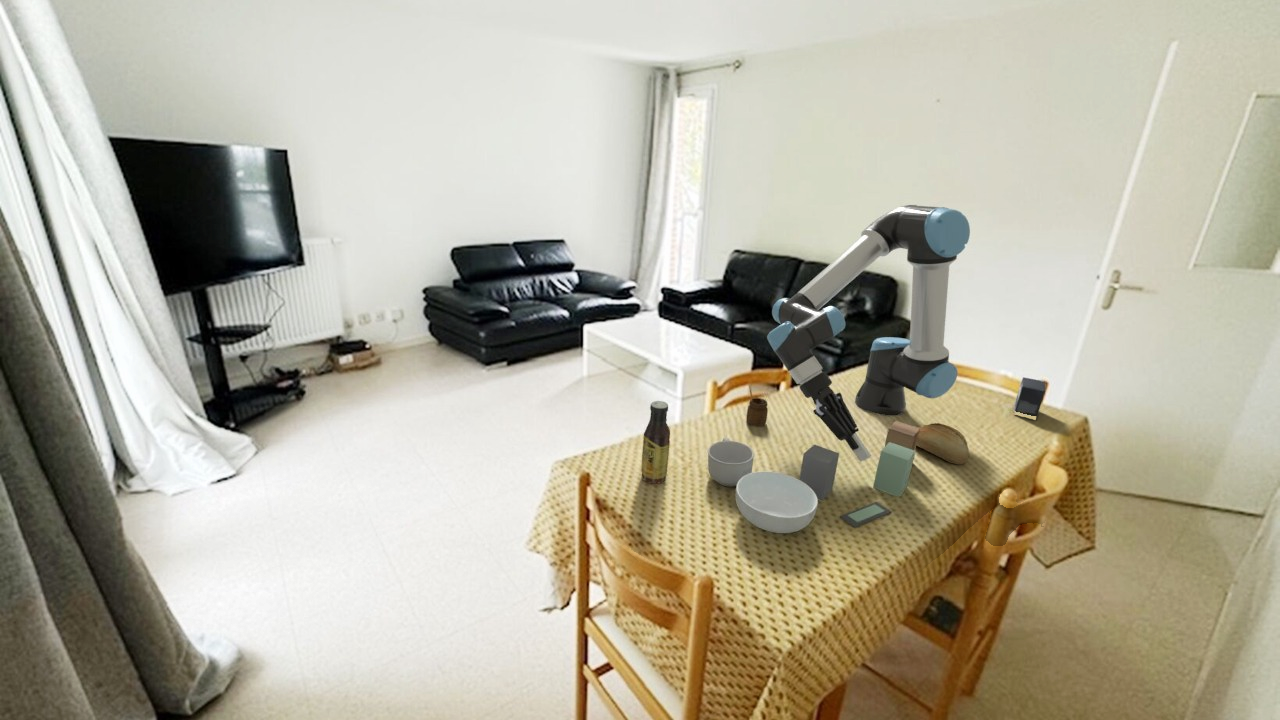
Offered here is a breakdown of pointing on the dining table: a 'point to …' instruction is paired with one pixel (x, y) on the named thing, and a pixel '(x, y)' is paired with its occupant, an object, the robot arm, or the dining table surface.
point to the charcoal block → (819, 470)
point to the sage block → (894, 469)
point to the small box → (1030, 396)
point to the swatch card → (865, 514)
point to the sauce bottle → (656, 444)
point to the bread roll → (944, 442)
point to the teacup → (729, 461)
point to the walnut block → (902, 435)
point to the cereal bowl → (776, 501)
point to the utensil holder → (757, 410)
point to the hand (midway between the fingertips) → (865, 458)
